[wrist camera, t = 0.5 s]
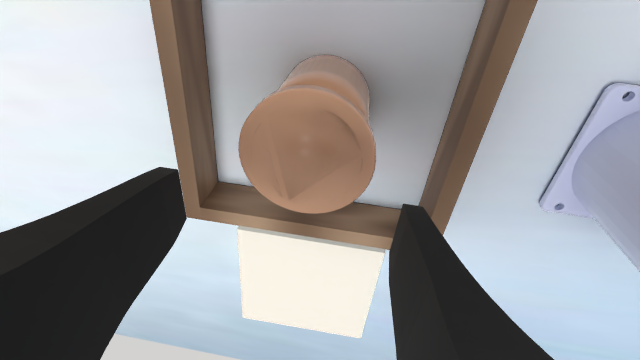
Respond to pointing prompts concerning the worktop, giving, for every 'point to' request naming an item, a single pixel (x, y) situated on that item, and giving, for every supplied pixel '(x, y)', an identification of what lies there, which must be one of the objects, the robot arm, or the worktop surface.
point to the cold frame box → (354, 219)
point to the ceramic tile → (307, 280)
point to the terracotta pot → (311, 138)
